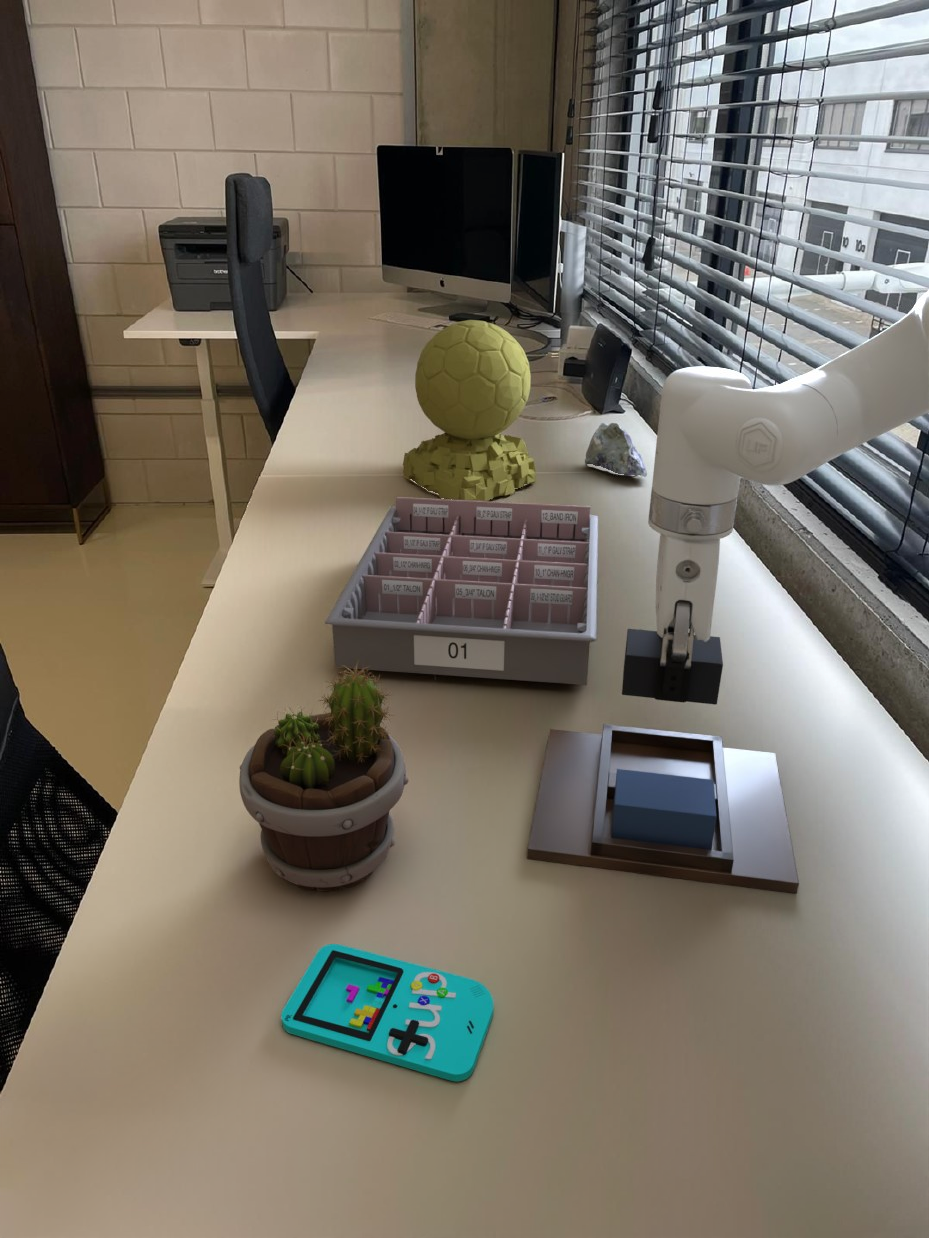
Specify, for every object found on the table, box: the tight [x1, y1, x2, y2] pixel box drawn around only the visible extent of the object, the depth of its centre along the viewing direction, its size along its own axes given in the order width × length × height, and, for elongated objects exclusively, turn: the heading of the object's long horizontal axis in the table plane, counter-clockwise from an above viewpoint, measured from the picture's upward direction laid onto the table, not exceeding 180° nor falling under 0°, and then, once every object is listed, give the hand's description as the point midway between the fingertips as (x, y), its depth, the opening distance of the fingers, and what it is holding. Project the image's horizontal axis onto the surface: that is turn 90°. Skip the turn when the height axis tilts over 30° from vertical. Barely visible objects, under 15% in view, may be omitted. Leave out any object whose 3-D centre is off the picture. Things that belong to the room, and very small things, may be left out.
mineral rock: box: [584, 422, 648, 478], centre depth 183 cm, size 13×11×10 cm
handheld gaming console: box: [280, 943, 494, 1082], centre depth 72 cm, size 8×1×15 cm
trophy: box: [402, 319, 537, 501], centre depth 174 cm, size 22×22×30 cm
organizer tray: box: [324, 496, 599, 686], centre depth 129 cm, size 32×40×10 cm
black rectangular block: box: [621, 628, 724, 706], centre depth 92 cm, size 9×6×4 cm, turn 79°
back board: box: [526, 723, 800, 894], centre depth 93 cm, size 24×20×3 cm
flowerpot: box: [238, 659, 409, 892], centre depth 83 cm, size 14×15×20 cm
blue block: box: [611, 769, 717, 850], centre depth 88 cm, size 9×6×4 cm, turn 79°
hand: (670, 681), depth 93 cm, fingers closed on black rectangular block, 5 cm apart
